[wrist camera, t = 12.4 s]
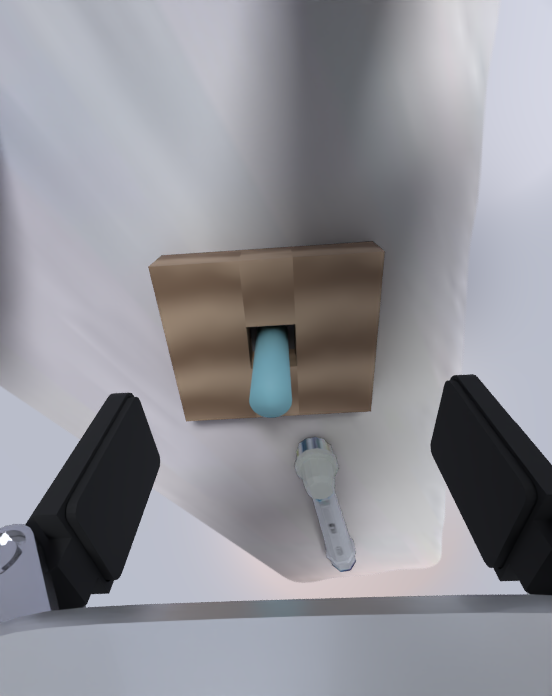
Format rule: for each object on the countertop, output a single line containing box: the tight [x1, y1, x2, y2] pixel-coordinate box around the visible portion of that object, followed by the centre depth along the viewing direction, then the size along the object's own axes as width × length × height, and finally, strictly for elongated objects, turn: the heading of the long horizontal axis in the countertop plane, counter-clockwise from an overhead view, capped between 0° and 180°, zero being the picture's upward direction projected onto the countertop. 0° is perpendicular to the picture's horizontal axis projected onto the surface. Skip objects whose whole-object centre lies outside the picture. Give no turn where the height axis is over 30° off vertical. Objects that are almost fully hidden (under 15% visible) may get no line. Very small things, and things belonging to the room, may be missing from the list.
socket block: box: [148, 241, 385, 421], centre depth 35 cm, size 17×20×4 cm
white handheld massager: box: [295, 437, 356, 572], centre depth 48 cm, size 5×7×25 cm
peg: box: [249, 325, 292, 418], centre depth 31 cm, size 3×3×12 cm
